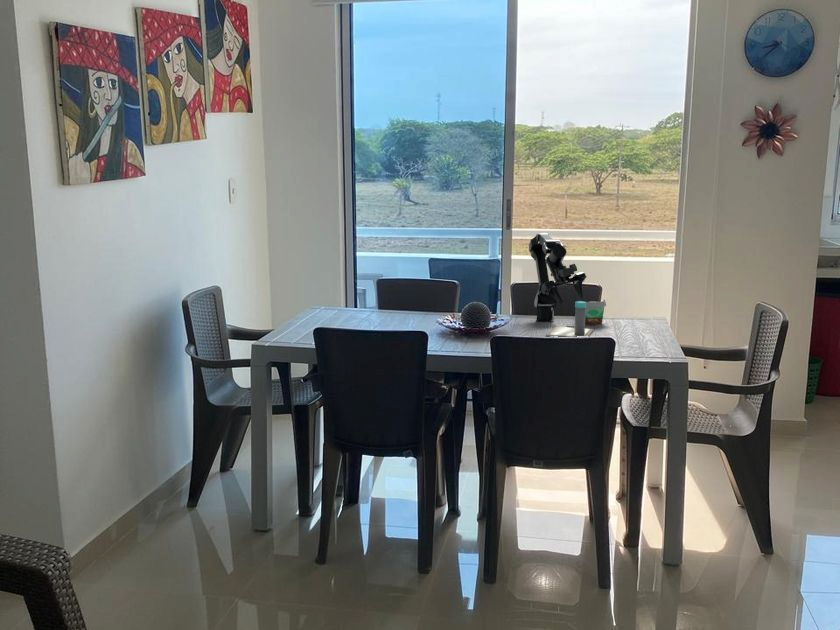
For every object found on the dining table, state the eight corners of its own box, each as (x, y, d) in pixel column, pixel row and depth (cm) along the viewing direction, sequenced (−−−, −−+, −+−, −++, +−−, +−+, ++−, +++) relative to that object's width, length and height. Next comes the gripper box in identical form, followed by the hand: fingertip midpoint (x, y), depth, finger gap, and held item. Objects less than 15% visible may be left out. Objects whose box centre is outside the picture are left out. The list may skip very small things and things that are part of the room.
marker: (573, 335, 322) (574, 303, 319) (575, 332, 326) (576, 301, 323) (583, 336, 320) (585, 303, 318) (585, 333, 324) (586, 301, 322)
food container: (582, 326, 343) (583, 302, 341) (577, 323, 349) (578, 300, 347) (610, 325, 345) (611, 302, 343) (604, 322, 351) (605, 299, 349)
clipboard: (545, 336, 323) (545, 333, 323) (555, 327, 340) (555, 324, 340) (586, 340, 317) (586, 336, 317) (593, 330, 335) (593, 327, 335)
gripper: (543, 264, 324) (558, 298, 319) (583, 253, 330) (599, 286, 325) (534, 276, 334) (549, 309, 329) (573, 265, 340) (589, 298, 335)
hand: (572, 301), depth 329 cm, fingers open, 9 cm apart
